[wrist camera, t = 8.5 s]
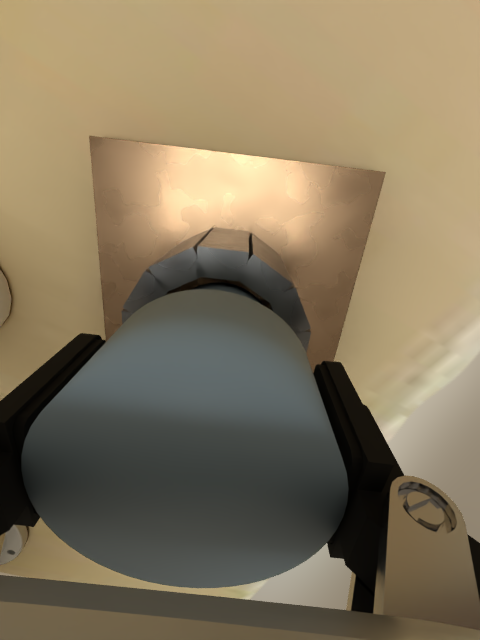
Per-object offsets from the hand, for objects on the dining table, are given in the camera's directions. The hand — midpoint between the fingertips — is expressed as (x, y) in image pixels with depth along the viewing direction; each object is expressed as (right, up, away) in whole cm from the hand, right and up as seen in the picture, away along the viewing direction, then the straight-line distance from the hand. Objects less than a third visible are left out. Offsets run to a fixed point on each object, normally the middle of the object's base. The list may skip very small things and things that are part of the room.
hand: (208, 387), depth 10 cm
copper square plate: (0, +4, +11) cm, 12 cm away
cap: (0, +2, +4) cm, 4 cm away
